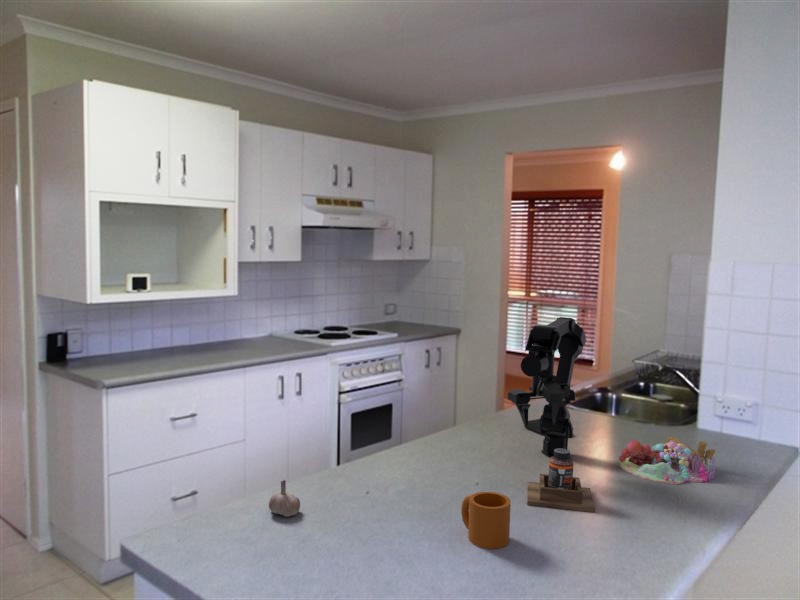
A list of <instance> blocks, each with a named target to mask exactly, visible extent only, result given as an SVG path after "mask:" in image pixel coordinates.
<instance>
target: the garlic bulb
mask: <svg viewBox="0 0 800 600" xmlns="http://www.w3.org/2000/svg"><path fill="white" fill-rule="evenodd" d="M286 481H287V480H286V479H282V480H280V492H279V493H276V494H273V495H272V496H271V497H270V499H269V501H268V508H269V510H270V512H272V513H274V514H276V515H280V516H283V517H286V518H288V517H292V516H295V515H297V514H298V513H299V511H300V508H301V501H300V499H299V497H297V496H295V495H294V494H292V493H289V492H287V491H286V490H287V488H286Z"/></svg>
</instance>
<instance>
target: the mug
mask: <svg viewBox="0 0 800 600" xmlns="http://www.w3.org/2000/svg"><path fill="white" fill-rule="evenodd" d="M462 500H463V501H462V504H461V513H460V514H461V518H462V521H463V524H464V526H465V528H466V529H467V530H468V533H467V535H468V536H467V538H468V540H469V542H470V543H471V544H472V545H474V546H476V547H479V548H481V549H487V550H494V549H495V550H496V549H498V550H499V549H501V548H502V549H503V548H505V547H506V546H507V545H509V543H510V530H511V529H510V528H511V525H510V524H511V503H512V502H511V499H510V498H509V497H508V496H507V495H505V494H502V493H501V492H500V493H499V492H495V491H479V492H478V491H477V492H475V493H472V494H467V495H466V496H465V497H464V498H463V499H462Z"/></svg>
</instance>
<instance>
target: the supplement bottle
mask: <svg viewBox="0 0 800 600" xmlns="http://www.w3.org/2000/svg"><path fill="white" fill-rule="evenodd" d="M548 463H549V465H548V475H549V477H548V488H558V489H568V490H572V480H573V477H574V476H573V475H574V460H573V459H572V458H571V451H570V450H569V449H568V448H567V449H562V448H557V449H554V456H553V457H551V458H550V457H549V462H548Z"/></svg>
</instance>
